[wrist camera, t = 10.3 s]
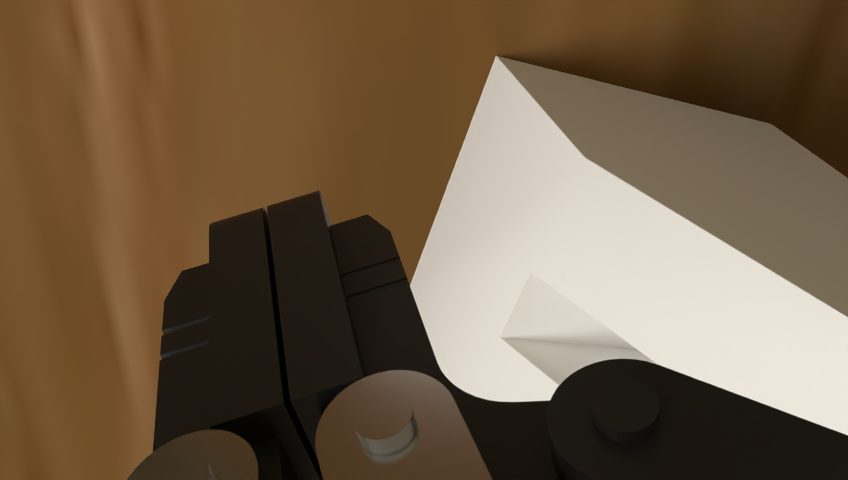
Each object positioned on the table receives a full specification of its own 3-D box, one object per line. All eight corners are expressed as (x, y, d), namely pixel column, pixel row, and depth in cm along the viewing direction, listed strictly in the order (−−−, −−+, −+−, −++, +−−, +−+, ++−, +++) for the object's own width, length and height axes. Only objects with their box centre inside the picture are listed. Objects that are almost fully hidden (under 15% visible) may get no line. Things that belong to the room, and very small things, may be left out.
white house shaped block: (770, 122, 46) (1201, 429, 26) (656, 313, 53) (924, 665, 33) (495, 55, 39) (796, 401, 19) (409, 285, 46) (561, 707, 26)
